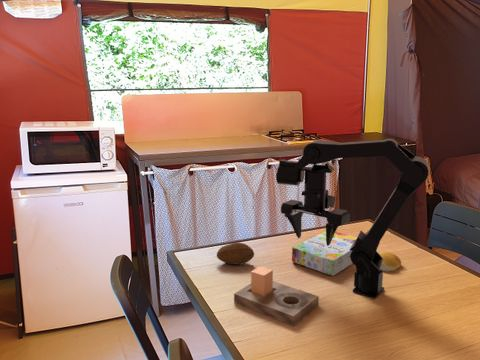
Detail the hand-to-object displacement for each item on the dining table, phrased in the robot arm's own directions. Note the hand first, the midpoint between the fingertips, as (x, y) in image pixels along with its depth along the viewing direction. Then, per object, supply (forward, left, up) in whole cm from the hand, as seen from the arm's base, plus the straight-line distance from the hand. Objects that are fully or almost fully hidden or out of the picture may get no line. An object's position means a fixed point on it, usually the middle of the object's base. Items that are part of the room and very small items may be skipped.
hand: (313, 241), depth 125 cm
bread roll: (-13, -22, -12) cm, 29 cm away
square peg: (+5, +17, -12) cm, 22 cm away
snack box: (+11, -17, -9) cm, 22 cm away
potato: (+25, +4, -12) cm, 28 cm away
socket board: (+1, +17, -12) cm, 21 cm away
